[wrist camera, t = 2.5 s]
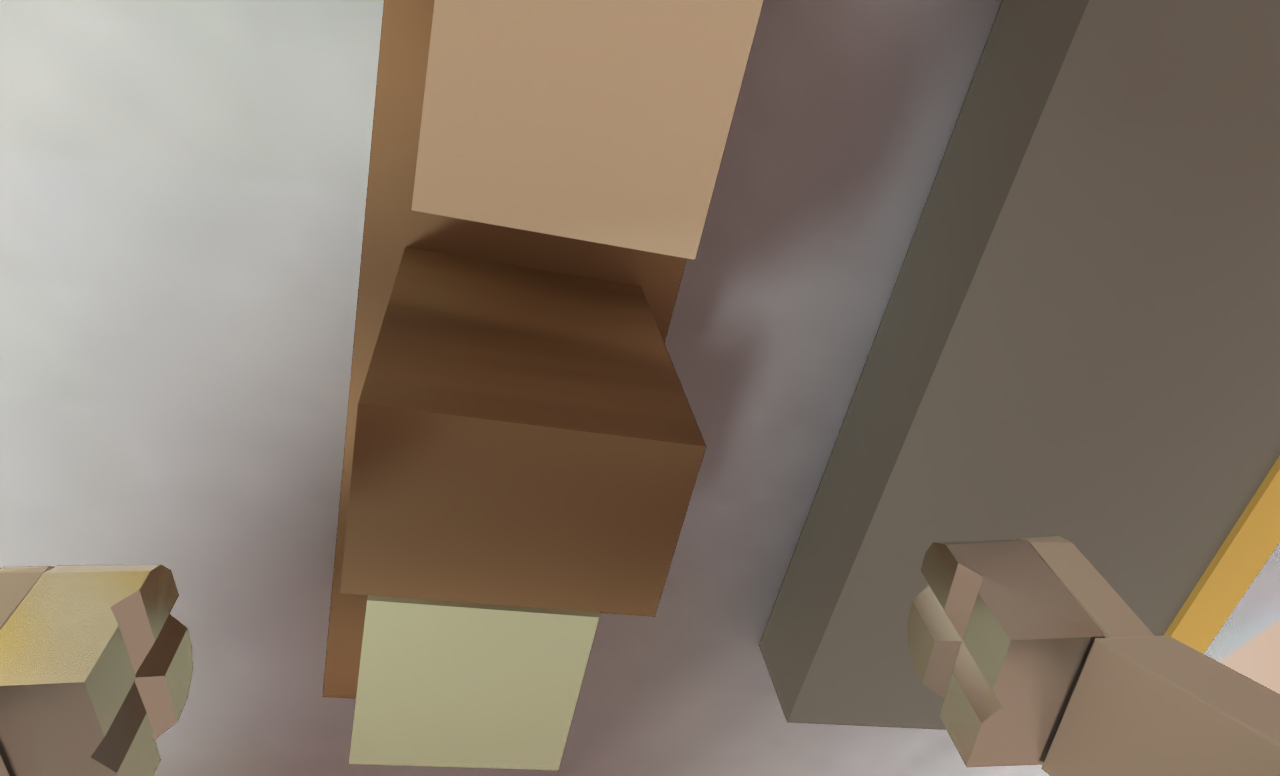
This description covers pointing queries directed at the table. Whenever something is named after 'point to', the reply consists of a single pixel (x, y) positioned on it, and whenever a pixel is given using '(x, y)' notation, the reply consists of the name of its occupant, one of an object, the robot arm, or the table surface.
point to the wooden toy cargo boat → (499, 403)
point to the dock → (1065, 347)
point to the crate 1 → (582, 115)
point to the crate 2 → (468, 683)
